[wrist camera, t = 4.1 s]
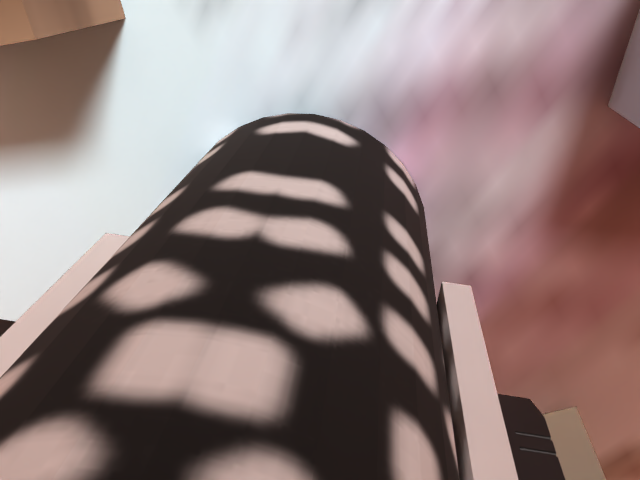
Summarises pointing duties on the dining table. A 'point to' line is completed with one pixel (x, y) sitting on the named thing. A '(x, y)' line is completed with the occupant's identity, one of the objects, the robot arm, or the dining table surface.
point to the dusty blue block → (629, 81)
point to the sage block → (573, 445)
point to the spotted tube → (249, 329)
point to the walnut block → (52, 17)
